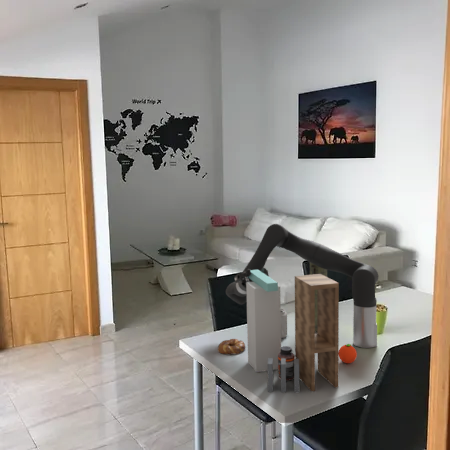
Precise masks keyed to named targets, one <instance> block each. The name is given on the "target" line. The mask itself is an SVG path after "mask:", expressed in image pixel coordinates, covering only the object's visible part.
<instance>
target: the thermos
mask: <svg viewBox="0 0 450 450" xmlns="http://www.w3.org/2000/svg"><path fill="white" fill-rule="evenodd" d="M313 274H322V275H324V276H326V277H328V270H327V269H323V268H321V267H318V266H316V265H314V264H312V263H310V262H309V275H313ZM315 334H317V290H315Z"/></svg>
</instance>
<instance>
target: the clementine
mask: <svg viewBox="0 0 450 450" xmlns="http://www.w3.org/2000/svg"><path fill="white" fill-rule="evenodd" d="M357 356H358V352H357V349H356V348H355V347H354V346H352V343H351V344H350V343H346V344H344V345H341V346H340V347H339V349H338V359H339V360H340V361H342V362H343V363H345V364H351V363H354V362H355V361H356V359H357Z"/></svg>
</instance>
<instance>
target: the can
mask: <svg viewBox="0 0 450 450" xmlns="http://www.w3.org/2000/svg"><path fill="white" fill-rule="evenodd" d="M287 335H288V313H287V312H286V309H284V308H281V339H285V338H286V336H287Z"/></svg>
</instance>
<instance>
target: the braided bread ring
mask: <svg viewBox="0 0 450 450" xmlns="http://www.w3.org/2000/svg"><path fill="white" fill-rule="evenodd" d="M245 350H246V344H245V342H244V341H243V340H239V339H238V338H230V339H226V340H222V341H221V342H220V343H219V344H218V347H217V352H218V353H220V354H222V355H230V356H231V355H235V354H236V355H238V354H241V353H243V352H244V351H245Z"/></svg>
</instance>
